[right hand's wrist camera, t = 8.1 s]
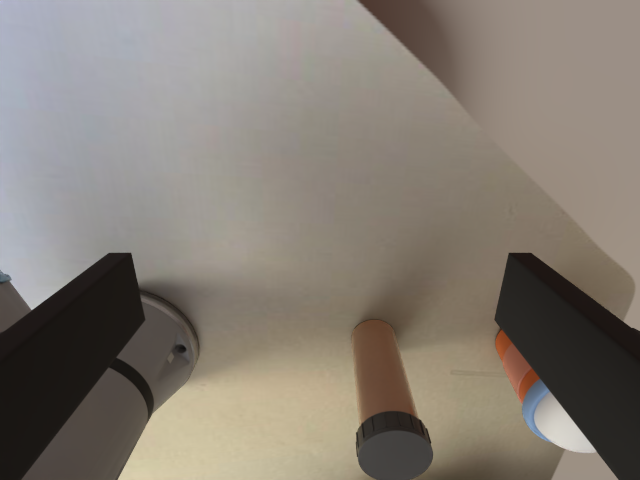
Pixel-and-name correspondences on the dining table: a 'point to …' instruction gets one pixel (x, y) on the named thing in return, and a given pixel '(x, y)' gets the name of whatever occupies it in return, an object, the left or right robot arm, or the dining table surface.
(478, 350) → the dining table surface
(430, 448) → the lid
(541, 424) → the cup with straw
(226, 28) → the dining table surface
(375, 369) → the jar
